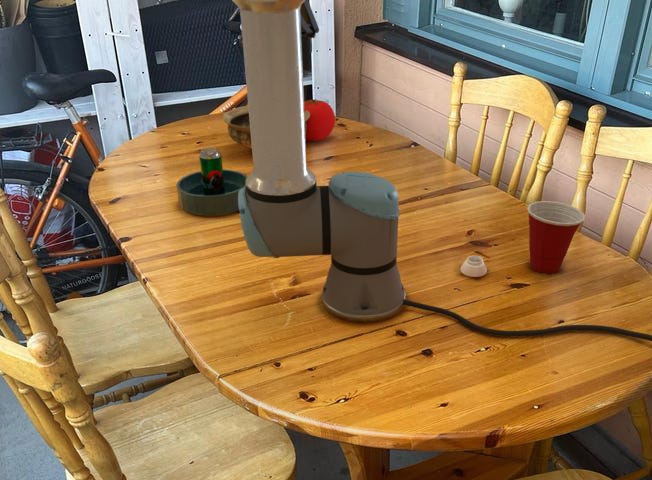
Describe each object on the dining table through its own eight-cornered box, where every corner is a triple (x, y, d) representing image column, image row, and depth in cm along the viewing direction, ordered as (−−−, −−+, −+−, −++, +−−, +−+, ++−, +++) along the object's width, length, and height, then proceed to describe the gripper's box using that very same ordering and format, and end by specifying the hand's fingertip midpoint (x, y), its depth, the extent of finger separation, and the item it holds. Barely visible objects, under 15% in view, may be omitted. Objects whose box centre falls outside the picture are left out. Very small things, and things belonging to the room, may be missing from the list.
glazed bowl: (265, 202, 167) (264, 181, 164) (208, 224, 157) (205, 202, 154) (222, 184, 177) (220, 164, 174) (165, 203, 167) (162, 182, 164)
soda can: (230, 199, 167) (225, 149, 160) (216, 206, 164) (210, 156, 157) (214, 195, 170) (208, 146, 163) (200, 202, 166) (193, 152, 159)
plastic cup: (584, 277, 135) (596, 219, 128) (530, 282, 134) (540, 224, 127) (560, 251, 144) (571, 196, 137) (510, 256, 142) (518, 201, 135)
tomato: (343, 137, 204) (343, 98, 198) (311, 148, 197) (310, 109, 190) (315, 129, 211) (313, 91, 205) (283, 139, 204) (281, 101, 197)
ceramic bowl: (326, 162, 188) (325, 125, 183) (239, 174, 182) (235, 136, 176) (294, 130, 212) (292, 96, 206) (216, 139, 205) (212, 104, 199)
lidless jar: (476, 281, 134) (491, 272, 137) (477, 267, 133) (493, 258, 135) (455, 272, 137) (470, 264, 140) (456, 259, 135) (471, 250, 138)
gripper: (309, -44, 148) (312, 62, 160) (214, -33, 133) (225, 83, 146) (334, -42, 143) (335, 67, 156) (238, -29, 129) (248, 90, 141)
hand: (282, 75), depth 151 cm, fingers open, 13 cm apart
